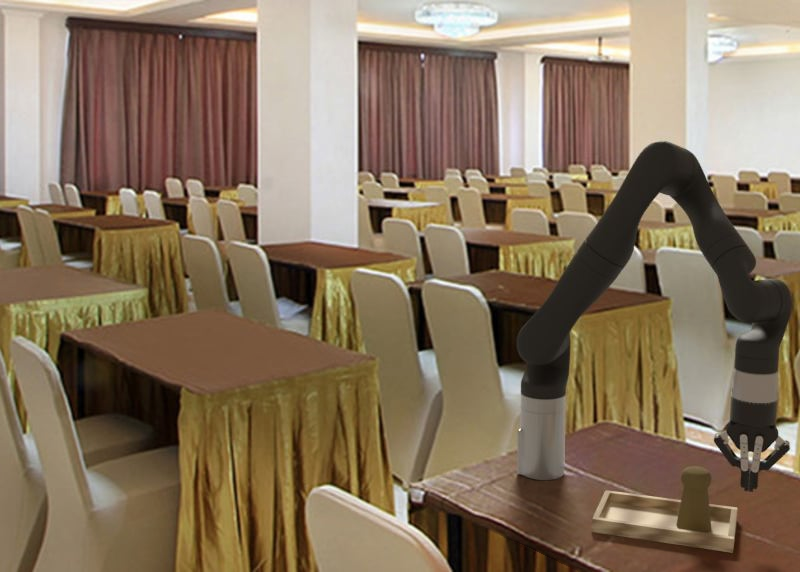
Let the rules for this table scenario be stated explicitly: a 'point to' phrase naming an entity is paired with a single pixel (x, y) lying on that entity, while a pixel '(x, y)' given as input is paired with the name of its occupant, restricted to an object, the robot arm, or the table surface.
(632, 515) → the birch tray
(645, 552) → the table surface
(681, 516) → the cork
